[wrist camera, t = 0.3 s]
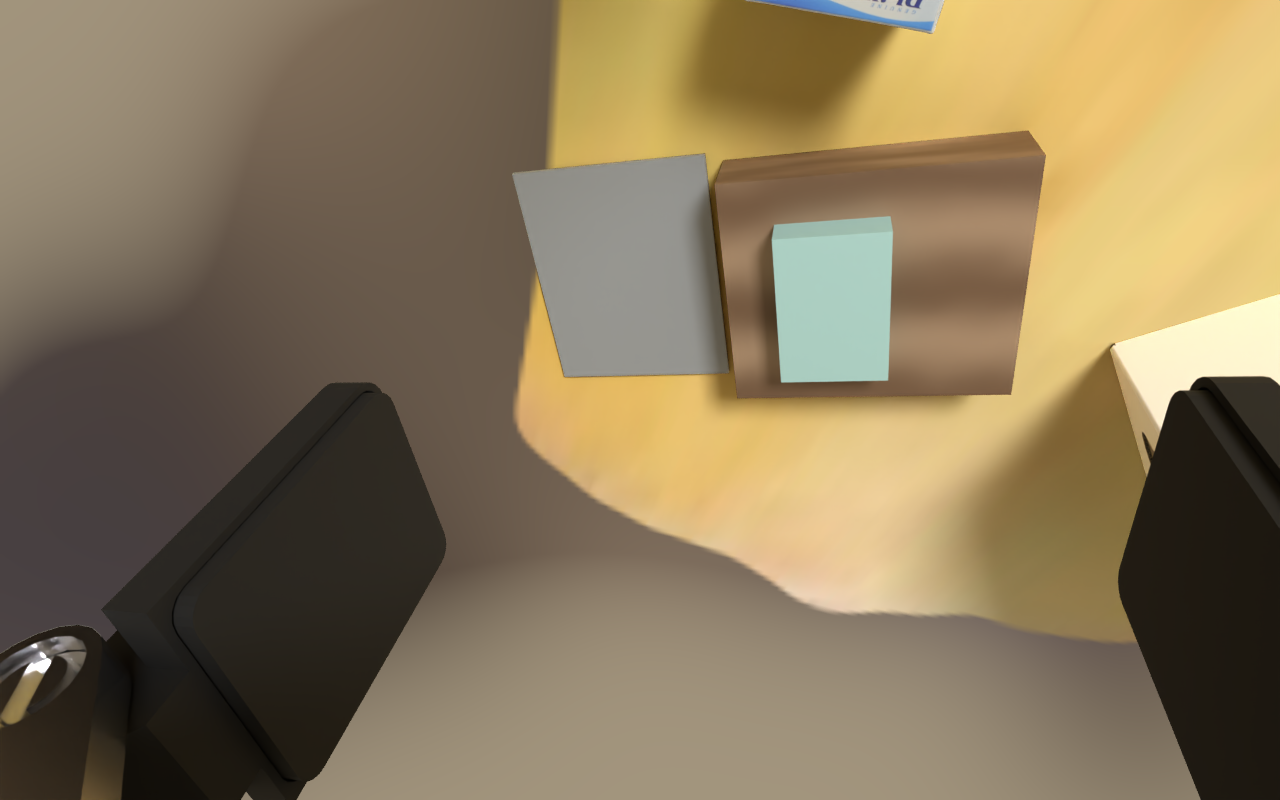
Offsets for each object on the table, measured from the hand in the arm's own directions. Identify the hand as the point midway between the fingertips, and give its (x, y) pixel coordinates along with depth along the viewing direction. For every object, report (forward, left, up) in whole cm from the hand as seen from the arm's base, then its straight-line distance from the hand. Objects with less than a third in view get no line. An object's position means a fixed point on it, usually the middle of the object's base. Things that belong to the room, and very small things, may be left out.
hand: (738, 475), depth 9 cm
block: (+14, +1, -32) cm, 35 cm away
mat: (+14, -12, -36) cm, 40 cm away
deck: (+14, +3, -36) cm, 39 cm away
